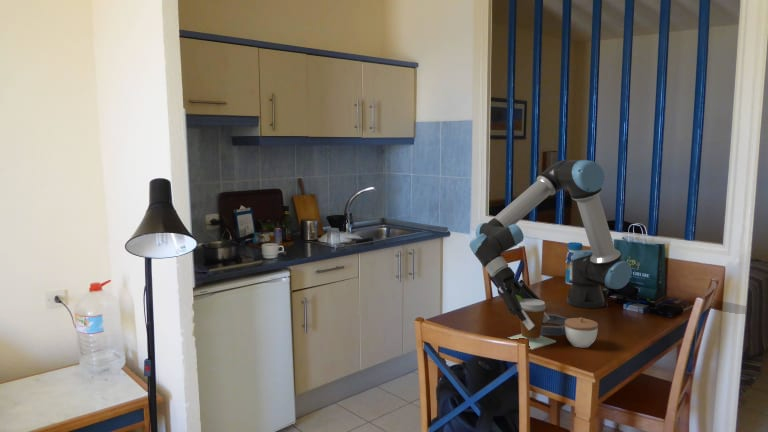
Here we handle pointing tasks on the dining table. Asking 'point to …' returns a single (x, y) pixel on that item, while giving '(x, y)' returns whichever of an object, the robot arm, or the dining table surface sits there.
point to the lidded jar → (581, 331)
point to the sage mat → (535, 341)
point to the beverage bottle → (572, 248)
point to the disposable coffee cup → (532, 316)
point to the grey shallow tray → (554, 329)
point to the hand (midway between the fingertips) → (539, 324)
